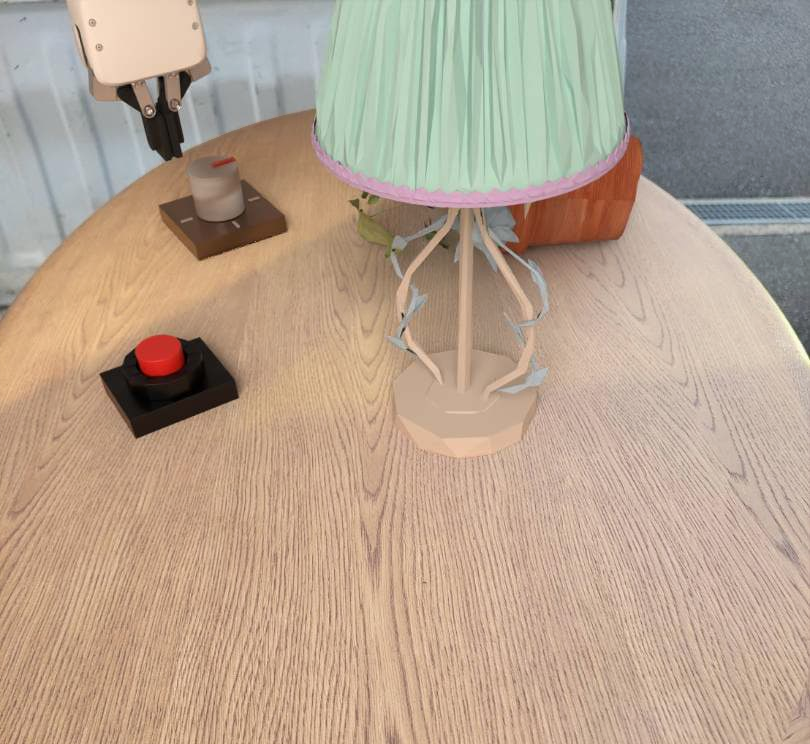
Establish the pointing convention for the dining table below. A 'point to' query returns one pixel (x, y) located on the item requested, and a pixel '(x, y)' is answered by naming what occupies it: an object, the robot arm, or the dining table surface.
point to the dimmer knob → (216, 188)
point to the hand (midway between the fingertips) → (169, 153)
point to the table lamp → (469, 166)
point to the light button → (160, 355)
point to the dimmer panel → (223, 224)
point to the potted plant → (554, 211)
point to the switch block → (169, 389)
